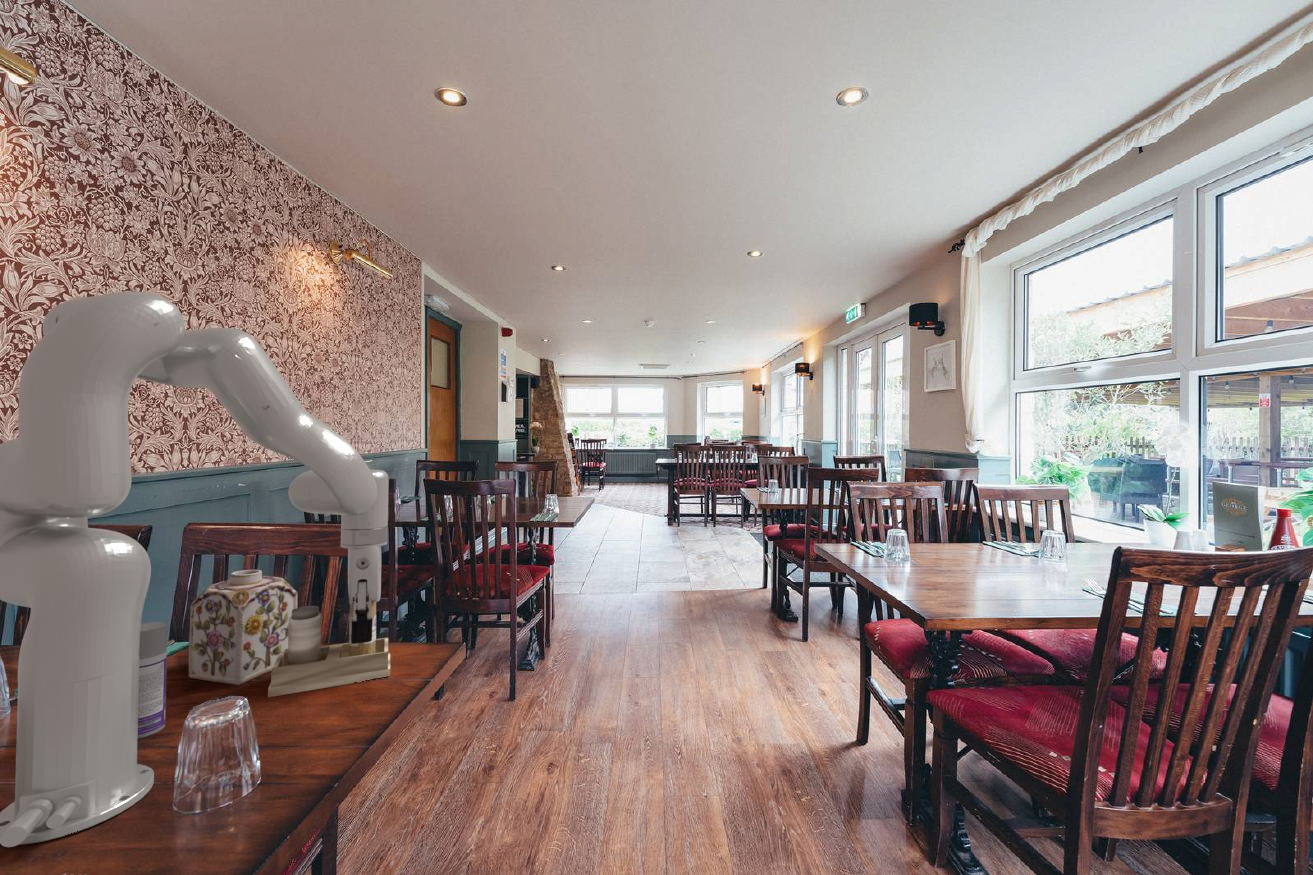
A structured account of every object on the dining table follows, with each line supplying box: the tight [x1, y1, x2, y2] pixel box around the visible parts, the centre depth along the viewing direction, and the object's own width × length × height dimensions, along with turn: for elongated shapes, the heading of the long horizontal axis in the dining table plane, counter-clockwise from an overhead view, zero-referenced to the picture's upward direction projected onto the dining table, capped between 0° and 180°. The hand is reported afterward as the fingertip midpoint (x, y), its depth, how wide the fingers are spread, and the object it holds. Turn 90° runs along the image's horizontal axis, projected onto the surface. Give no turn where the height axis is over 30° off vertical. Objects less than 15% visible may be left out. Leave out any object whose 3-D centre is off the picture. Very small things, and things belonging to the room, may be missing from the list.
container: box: [137, 621, 168, 740], centre depth 78 cm, size 5×5×15 cm
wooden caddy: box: [267, 605, 391, 698], centre depth 96 cm, size 8×18×13 cm, turn 116°
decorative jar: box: [188, 569, 298, 686], centre depth 99 cm, size 12×12×18 cm
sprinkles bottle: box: [348, 586, 377, 657], centre depth 98 cm, size 5×5×14 cm
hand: (362, 636), depth 98 cm, fingers closed on sprinkles bottle, 4 cm apart
